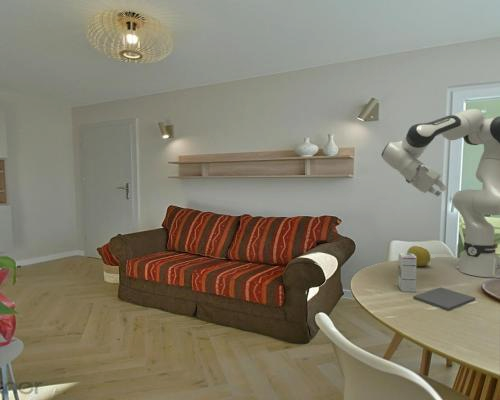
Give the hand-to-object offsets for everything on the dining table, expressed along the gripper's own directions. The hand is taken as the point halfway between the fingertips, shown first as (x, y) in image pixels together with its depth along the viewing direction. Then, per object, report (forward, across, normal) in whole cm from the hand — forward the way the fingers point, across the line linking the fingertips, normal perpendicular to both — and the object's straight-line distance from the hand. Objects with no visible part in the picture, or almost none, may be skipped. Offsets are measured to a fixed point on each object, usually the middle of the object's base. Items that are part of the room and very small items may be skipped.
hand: (442, 192), depth 138 cm
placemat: (+27, -5, +33) cm, 43 cm away
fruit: (+17, +40, +23) cm, 49 cm away
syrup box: (+17, +2, +39) cm, 43 cm away
